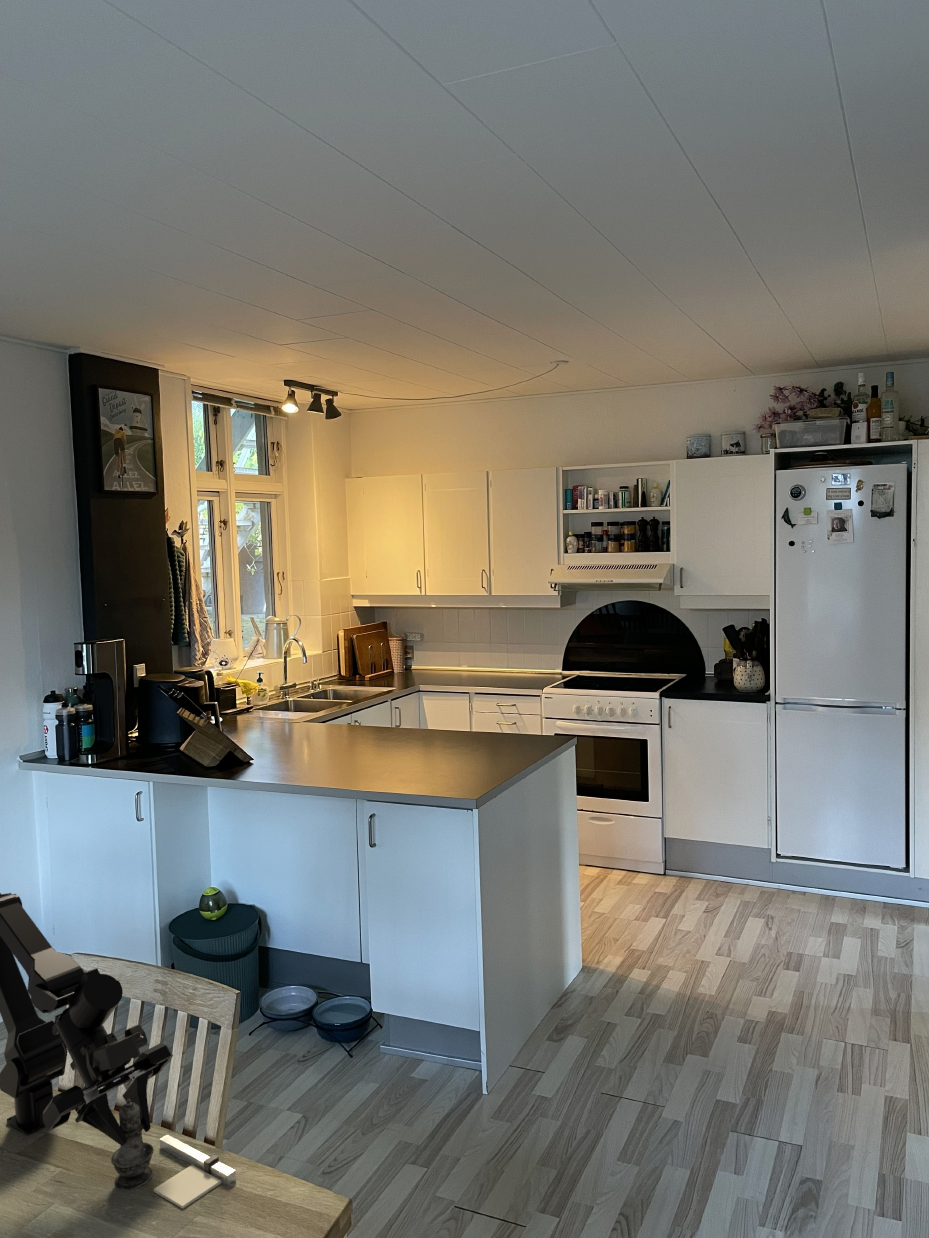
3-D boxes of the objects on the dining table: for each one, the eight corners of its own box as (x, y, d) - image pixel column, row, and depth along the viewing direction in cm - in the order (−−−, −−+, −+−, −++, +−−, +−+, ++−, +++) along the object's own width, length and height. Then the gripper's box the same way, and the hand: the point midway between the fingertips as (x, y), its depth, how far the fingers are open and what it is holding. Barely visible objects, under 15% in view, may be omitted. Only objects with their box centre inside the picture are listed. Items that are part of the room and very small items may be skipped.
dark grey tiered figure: (103, 1184, 141) (97, 1104, 140) (134, 1161, 146) (129, 1083, 145) (133, 1195, 138) (127, 1113, 137) (163, 1171, 143) (158, 1092, 143)
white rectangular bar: (158, 1148, 149) (157, 1136, 149) (169, 1142, 151) (168, 1130, 150) (226, 1185, 139) (226, 1172, 139) (237, 1178, 141) (236, 1165, 141)
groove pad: (153, 1191, 139) (153, 1188, 139) (192, 1167, 144) (192, 1164, 144) (182, 1208, 135) (182, 1205, 135) (221, 1182, 140) (220, 1180, 140)
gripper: (47, 1042, 136) (98, 1144, 130) (161, 990, 150) (211, 1080, 144) (21, 1080, 141) (69, 1181, 135) (134, 1027, 156) (182, 1115, 150)
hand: (136, 1137), depth 141 cm, fingers closed on dark grey tiered figure, 4 cm apart
